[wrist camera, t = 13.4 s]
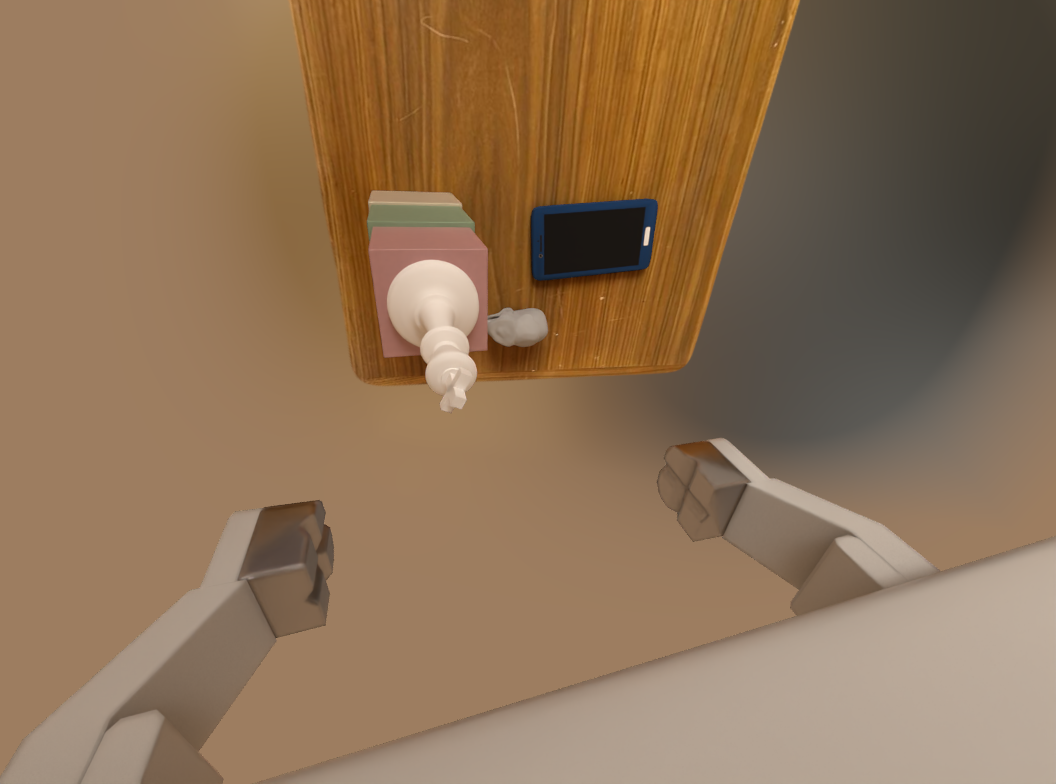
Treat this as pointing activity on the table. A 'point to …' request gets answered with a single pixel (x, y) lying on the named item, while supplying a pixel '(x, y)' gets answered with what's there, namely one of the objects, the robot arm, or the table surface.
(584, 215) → the cell phone
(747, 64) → the table surface
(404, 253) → the block stack
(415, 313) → the chess piece
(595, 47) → the table surface
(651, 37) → the table surface
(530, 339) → the figurine
